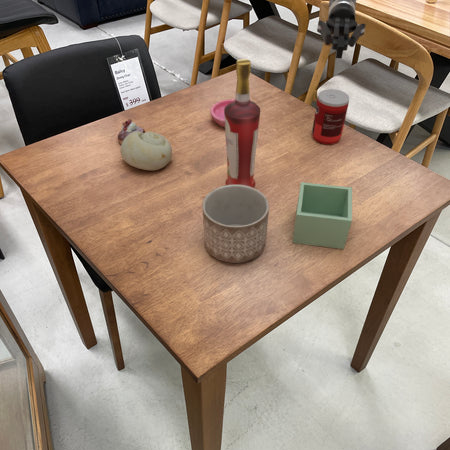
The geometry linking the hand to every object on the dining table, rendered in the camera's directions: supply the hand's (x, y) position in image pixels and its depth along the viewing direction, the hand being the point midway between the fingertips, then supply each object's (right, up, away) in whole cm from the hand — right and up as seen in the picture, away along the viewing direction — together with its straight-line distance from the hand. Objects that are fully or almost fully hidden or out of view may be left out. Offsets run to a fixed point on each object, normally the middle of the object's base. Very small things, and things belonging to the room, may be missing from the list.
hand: (339, 52), depth 109 cm
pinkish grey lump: (-53, -19, +8) cm, 57 cm away
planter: (-26, -50, -18) cm, 60 cm away
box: (-8, -46, -15) cm, 50 cm away
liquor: (-25, -35, -6) cm, 43 cm away
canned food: (-2, -18, +8) cm, 20 cm away
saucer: (-26, -12, +13) cm, 32 cm away
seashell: (-48, -28, +1) cm, 55 cm away
